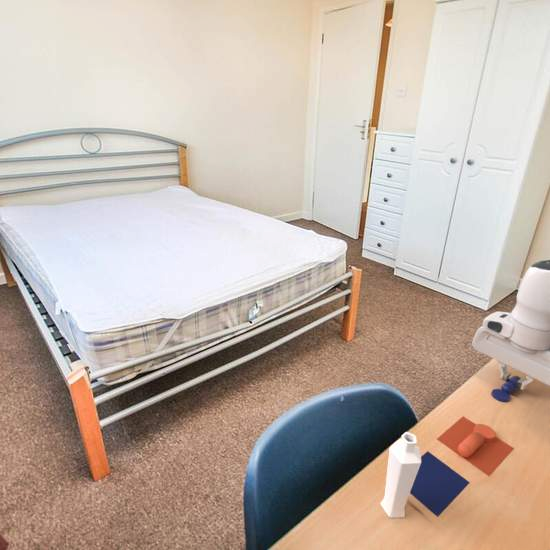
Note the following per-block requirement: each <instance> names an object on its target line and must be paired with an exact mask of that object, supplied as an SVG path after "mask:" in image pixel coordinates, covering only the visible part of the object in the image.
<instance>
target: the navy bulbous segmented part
mask: <svg viewBox="0 0 550 550" xmlns="http://www.w3.org/2000/svg"><path fill="white" fill-rule="evenodd" d="M520 379H522V378H521V377H520V376H518V375H512V376H510V378H509V380H507V381H506V382H505V381H504V383H502V385H500V386H501V387H500V388H493V389H492V390H491V393H490V394H491V397H492V398H493V399H494V400H495V401H498V402H500V403H509V402H510V400H511V394H513V393H514V392H515V391H516V390H518V388H517V387H516V385H517V382H518V381H519V380H520Z"/></svg>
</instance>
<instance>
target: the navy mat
mask: <svg viewBox="0 0 550 550" xmlns="http://www.w3.org/2000/svg"><path fill="white" fill-rule="evenodd" d="M469 484H470V481H469V480H467V479H466V478H465V477H463V476H462V475H461V474H459V473H458V472H457V471H455V470H454V469H452V468H451V467H450V466H449V465H447V464H446V463H445V462H443V461H442V460H441V459H439V458H438V457H436V456H435V455H433V453H432V452H430V451H428V450H427V451H426V452H425V453H424V454H422V455H421V465H420V467H419V470H418V473H417V475H416V478H415V480H414V483H413V486H412V488H411V491H410V494H409V495H412V497H414V498H415V499H416V500H417V501H418V502H419V503H420V504H421V505H423V506H424V507H425V508H426V509H428V510H429V511H430V512H431V513H432V514H434V516H435V517H437V518H438V517H439V516H440V515H441V514H442V513H443V512H444V511H445V510H446V509H447V508H448V507H449V505H451V504H452V502H453V501H454V500H455V499H456V498H457V497H458V496H459V495H460V494H461V493H462V492H463V491H464V490H465V489H466V487H468V485H469Z"/></svg>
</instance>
